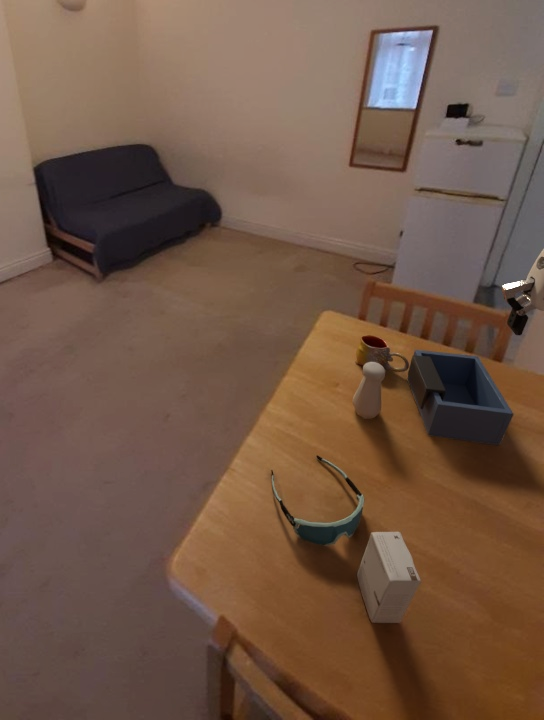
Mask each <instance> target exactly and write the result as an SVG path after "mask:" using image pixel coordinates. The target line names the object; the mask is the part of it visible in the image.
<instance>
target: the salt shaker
mask: <svg viewBox="0 0 544 720" xmlns="http://www.w3.org/2000/svg"><path fill="white" fill-rule="evenodd" d="M362 374H363V376H362V379H361V381H360V382H359V384H358V386H357V388H356V391H355V393H354V394H353V396H352V405H353V407H354V411H355V413H356V415H358V416H360V417H361V418H362V419H365V420H366V419H367V420H368V419H374V418H375V417H377V416H378V415H379V413H380V412H381V411H382V382H383V381H384V379H385V378H386V370H385V369H384V368H383V366H381V365H380V364H379V363H376V362H368V363H366V364H365V365H364V366H362Z"/></svg>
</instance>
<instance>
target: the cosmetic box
mask: <svg viewBox="0 0 544 720" xmlns="http://www.w3.org/2000/svg"><path fill="white" fill-rule="evenodd" d="M359 564H360V565H359V567H358V570H357V574H356V578H357V582H358V586H359V589H360V592H361V596H362V599H363V602H364V606H365V608H366V612H367V616H368V618H369V621H370V622H371V623H373V624H375V623H376V624H401V622H402V620H403V618H404V617H405V616H404V615H405V614H406V612H407V610H408V609H409V606H410V604H411V602H412V600H413V599H414V597H415V594H416V592H417V591H418V588H419V587H420V585H421V582H422V579H421V577H420V575H419V573H418V571H417V568H416V566H415V563H414V559H413V557H412V554H411V552H410V550H409V548H408V546H407V544H406V542H405V540H404V537H403V535H402V533H401V531H373V532H370V536H369V539H368V542H367V545H366V547H365V550H364V553H363V556H362V558H361V562H360V563H359Z"/></svg>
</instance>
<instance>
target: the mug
mask: <svg viewBox="0 0 544 720" xmlns="http://www.w3.org/2000/svg"><path fill="white" fill-rule="evenodd" d="M355 356H356V360H355V364H356V365H360V366H362V367H363V366H364V365H365V364H366V363H368V362H376V363H379V364H380V365H381V366H383V368H384V369H385V371H390V372H394V373H404V372H407V371H409V367H410V362H409V360H408V358H406V356H404V355H403V354H401V352H391V349H390V346H389V345H388V343H387V341H386V339H383V338H382V337H380V336H376V335H372V334H364V335H362V336H360V337H359V344H358V346H357V348H356V353H355ZM393 356H395V357H399V358H401V359H402V361H404V366H403V367H394V366H393V365H391V364H390V363H391V362H393V361H394V358H393ZM389 362H390V363H389Z"/></svg>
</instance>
